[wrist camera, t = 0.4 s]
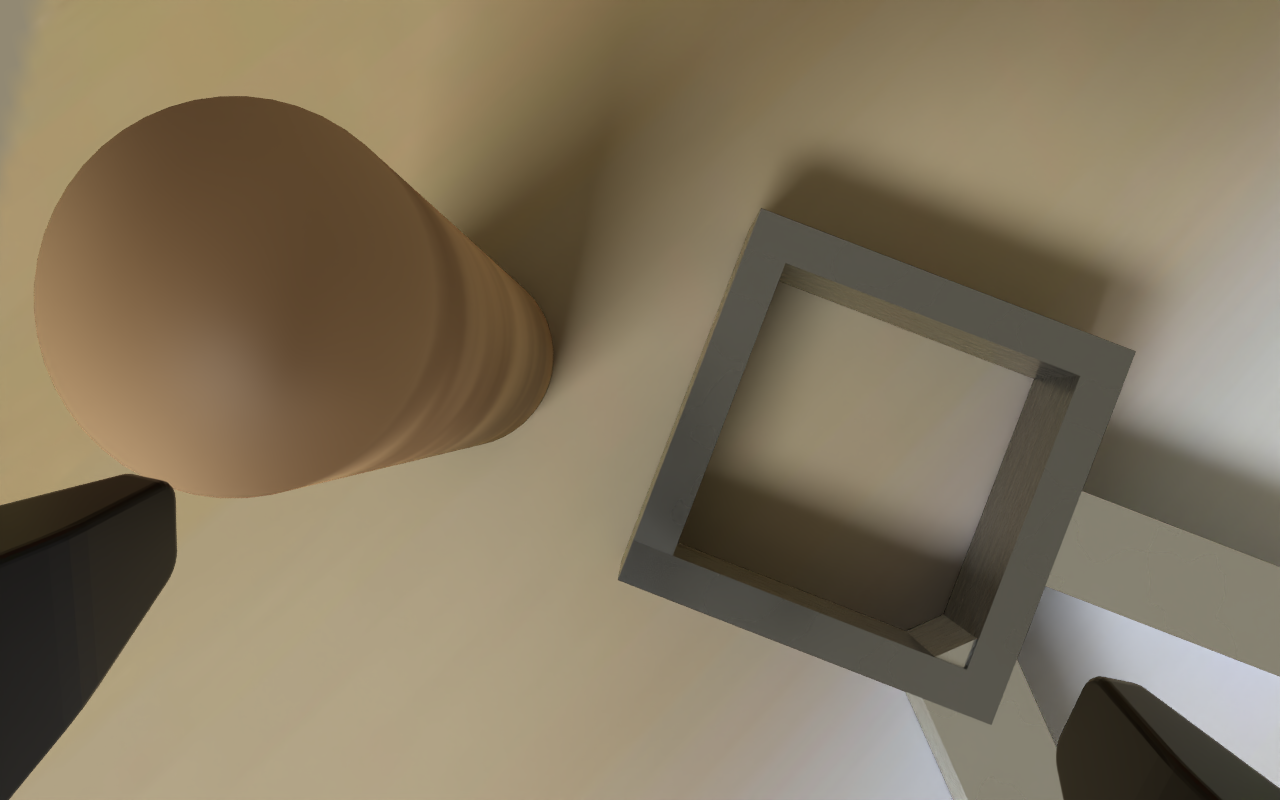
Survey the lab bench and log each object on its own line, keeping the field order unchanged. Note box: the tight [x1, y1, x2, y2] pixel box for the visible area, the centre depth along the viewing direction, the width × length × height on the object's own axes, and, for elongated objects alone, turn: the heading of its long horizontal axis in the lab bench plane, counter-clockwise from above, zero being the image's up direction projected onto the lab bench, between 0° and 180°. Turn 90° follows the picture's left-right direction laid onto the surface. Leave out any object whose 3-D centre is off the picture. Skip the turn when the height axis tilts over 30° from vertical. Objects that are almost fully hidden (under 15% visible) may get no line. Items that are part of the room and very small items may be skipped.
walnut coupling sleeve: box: [34, 96, 553, 498], centre depth 17 cm, size 5×5×13 cm
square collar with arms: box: [618, 208, 1280, 800], centre depth 22 cm, size 14×17×2 cm
